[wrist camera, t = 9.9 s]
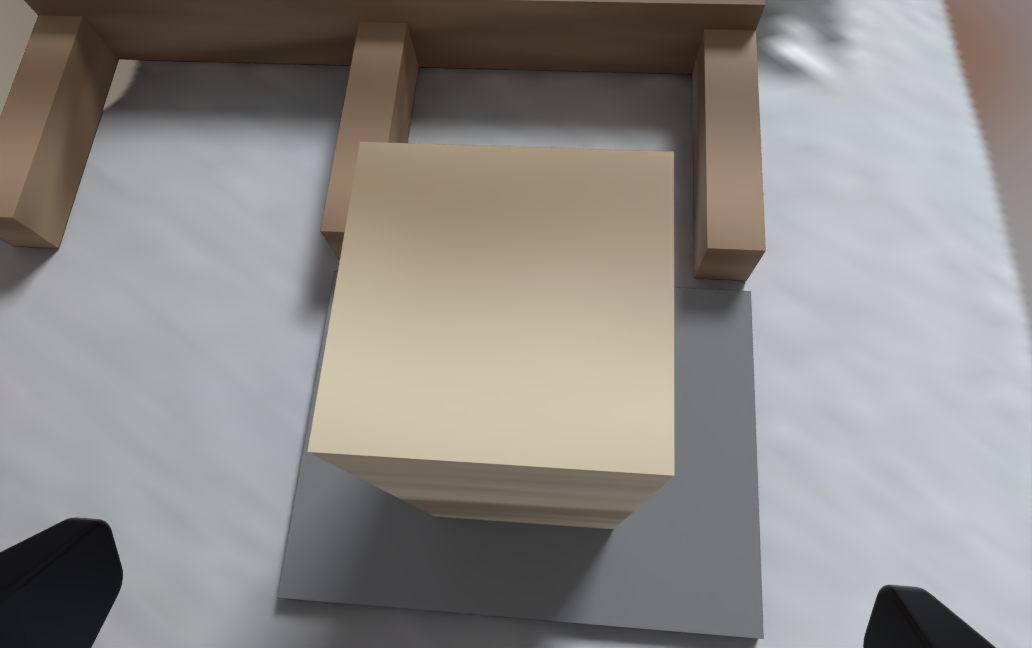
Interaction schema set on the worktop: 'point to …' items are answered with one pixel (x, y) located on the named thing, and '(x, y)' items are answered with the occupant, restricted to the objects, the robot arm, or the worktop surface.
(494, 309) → the beech block
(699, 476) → the rubber mat
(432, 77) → the worktop surface
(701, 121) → the lane rack
